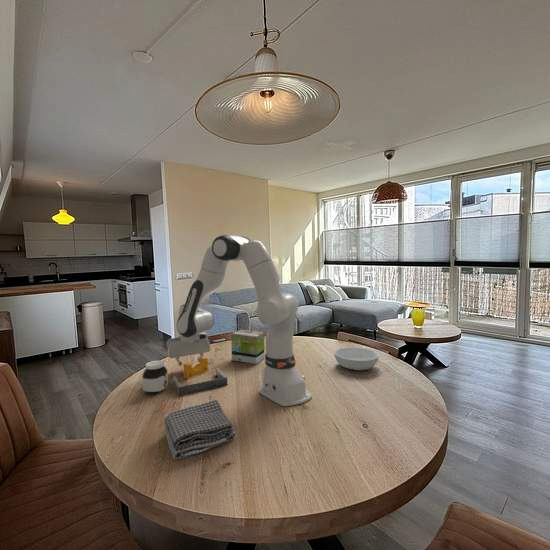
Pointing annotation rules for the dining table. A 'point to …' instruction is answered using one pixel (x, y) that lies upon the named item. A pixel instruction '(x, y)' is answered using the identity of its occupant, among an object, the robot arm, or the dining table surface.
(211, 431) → the towel
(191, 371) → the pipe clamp
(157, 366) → the spread jar
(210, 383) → the tray
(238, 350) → the tea box
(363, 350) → the serving bowl
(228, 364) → the dining table surface
